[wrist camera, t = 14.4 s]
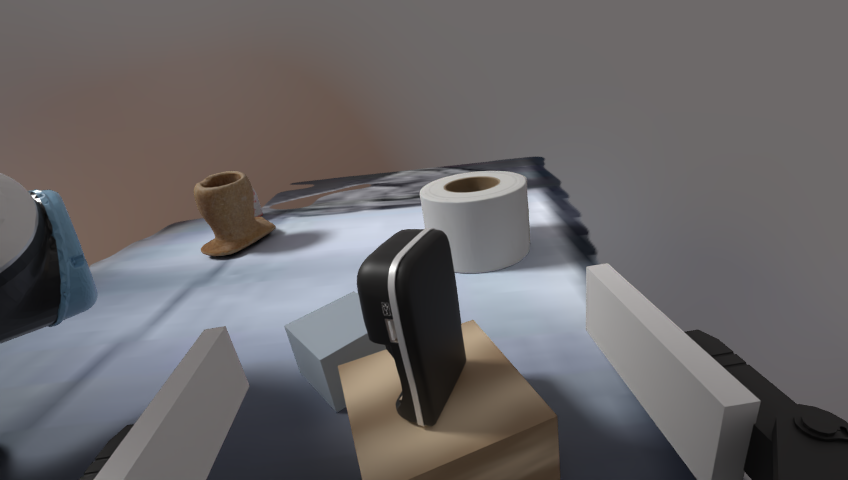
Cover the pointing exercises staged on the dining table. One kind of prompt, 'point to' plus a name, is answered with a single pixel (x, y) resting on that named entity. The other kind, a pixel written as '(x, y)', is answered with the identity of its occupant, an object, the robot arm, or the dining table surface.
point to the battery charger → (415, 318)
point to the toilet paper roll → (480, 218)
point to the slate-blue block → (330, 345)
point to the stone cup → (229, 213)
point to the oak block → (453, 422)
